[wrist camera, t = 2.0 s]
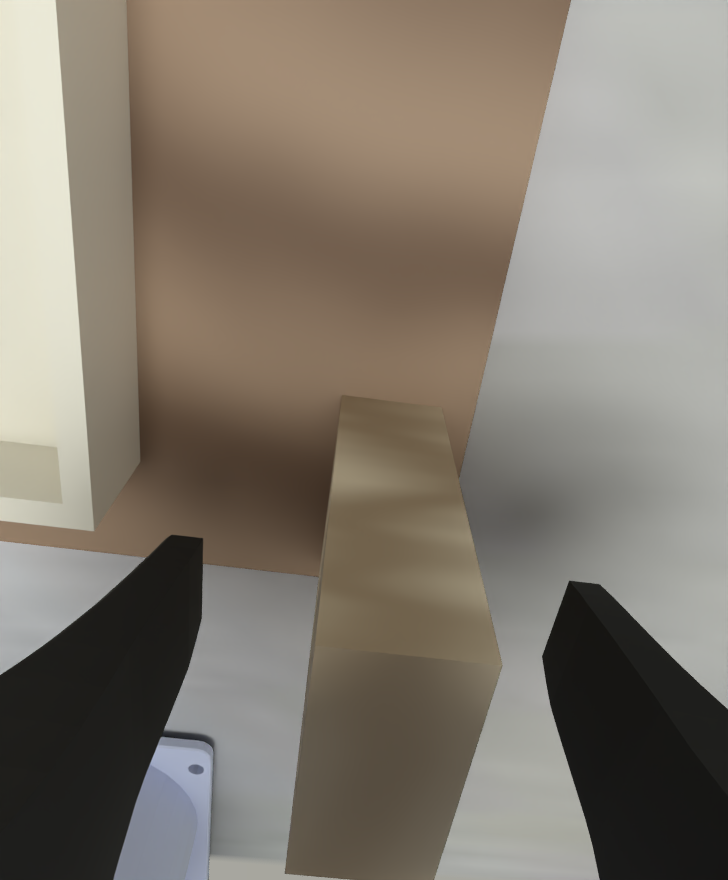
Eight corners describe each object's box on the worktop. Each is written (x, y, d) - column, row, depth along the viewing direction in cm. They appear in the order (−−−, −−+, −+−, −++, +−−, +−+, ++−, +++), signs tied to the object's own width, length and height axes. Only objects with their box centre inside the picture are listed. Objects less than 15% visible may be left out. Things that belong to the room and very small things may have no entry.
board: (430, 571, 19) (432, 589, 18) (-290, 489, 18) (-318, 505, 17) (673, -497, 9) (697, -545, 9) (-793, -796, 8) (-900, -879, 8)
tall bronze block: (441, 407, 15) (502, 665, 8) (407, 572, 18) (431, 886, 10) (342, 394, 15) (315, 645, 8) (320, 562, 17) (285, 873, 10)
